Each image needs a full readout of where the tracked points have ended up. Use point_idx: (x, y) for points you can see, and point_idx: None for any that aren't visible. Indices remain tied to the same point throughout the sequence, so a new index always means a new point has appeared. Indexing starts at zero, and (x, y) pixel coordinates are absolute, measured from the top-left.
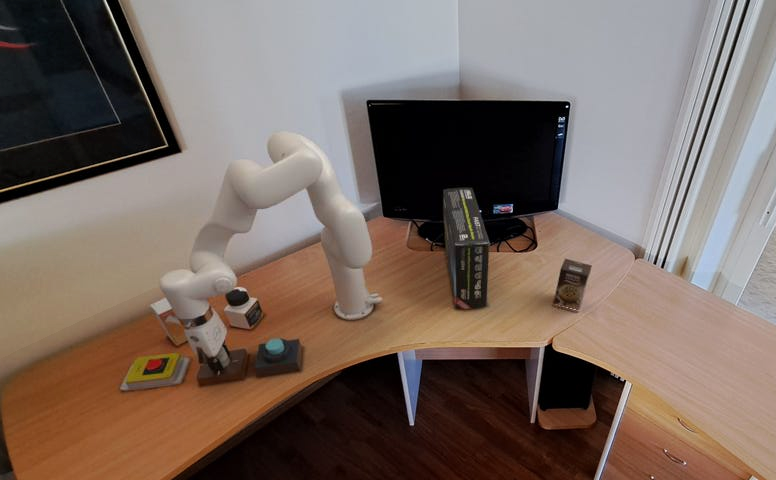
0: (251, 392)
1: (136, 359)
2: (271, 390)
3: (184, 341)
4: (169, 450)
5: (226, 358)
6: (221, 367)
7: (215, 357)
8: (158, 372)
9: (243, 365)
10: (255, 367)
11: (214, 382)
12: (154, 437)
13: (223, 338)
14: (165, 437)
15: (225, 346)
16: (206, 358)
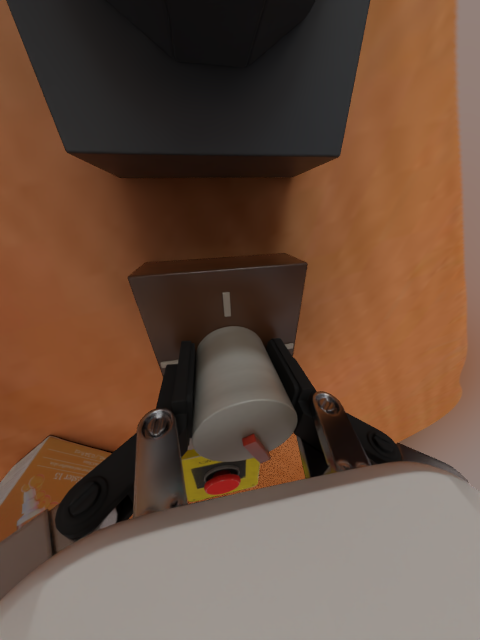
0: (364, 201)
1: (195, 500)
2: (406, 74)
3: (107, 454)
4: (421, 359)
5: (245, 349)
6: (286, 349)
7: (332, 422)
8: (242, 463)
9: (238, 262)
10: (341, 146)
11: None
12: (376, 390)
13: (224, 560)
14: (387, 376)
15: (184, 394)
16: (320, 451)
